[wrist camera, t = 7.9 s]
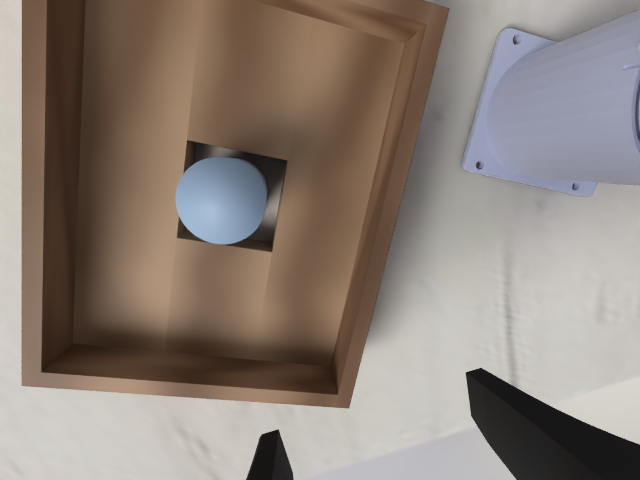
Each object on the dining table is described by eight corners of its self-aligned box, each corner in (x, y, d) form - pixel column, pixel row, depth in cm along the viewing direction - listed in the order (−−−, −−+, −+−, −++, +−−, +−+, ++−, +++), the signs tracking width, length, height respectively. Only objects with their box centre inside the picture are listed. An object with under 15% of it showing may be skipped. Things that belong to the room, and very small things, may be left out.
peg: (273, 166, 19) (273, 169, 13) (261, 224, 20) (256, 252, 14) (211, 151, 18) (183, 146, 12) (200, 211, 19) (169, 234, 13)
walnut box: (407, 43, 18) (449, 8, 14) (334, 360, 22) (349, 408, 18) (92, -46, 15) (21, -126, 11) (77, 335, 20) (21, 385, 15)
